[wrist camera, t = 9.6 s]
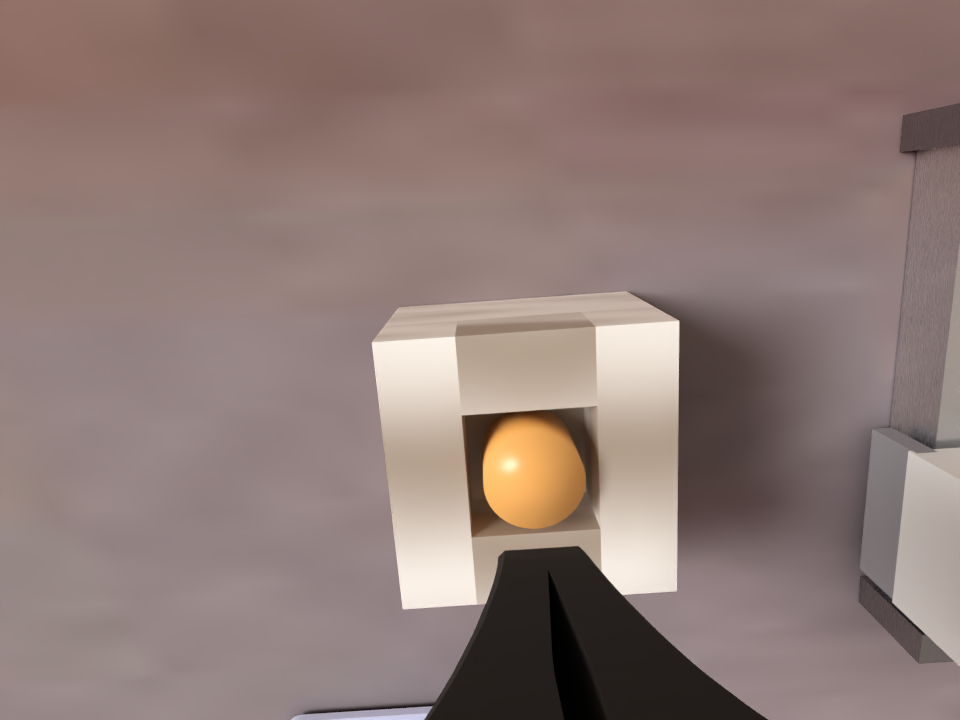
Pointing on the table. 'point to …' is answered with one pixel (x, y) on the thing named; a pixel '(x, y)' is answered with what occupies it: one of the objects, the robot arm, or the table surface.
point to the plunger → (531, 469)
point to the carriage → (915, 532)
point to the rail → (927, 327)
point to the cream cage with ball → (527, 387)
